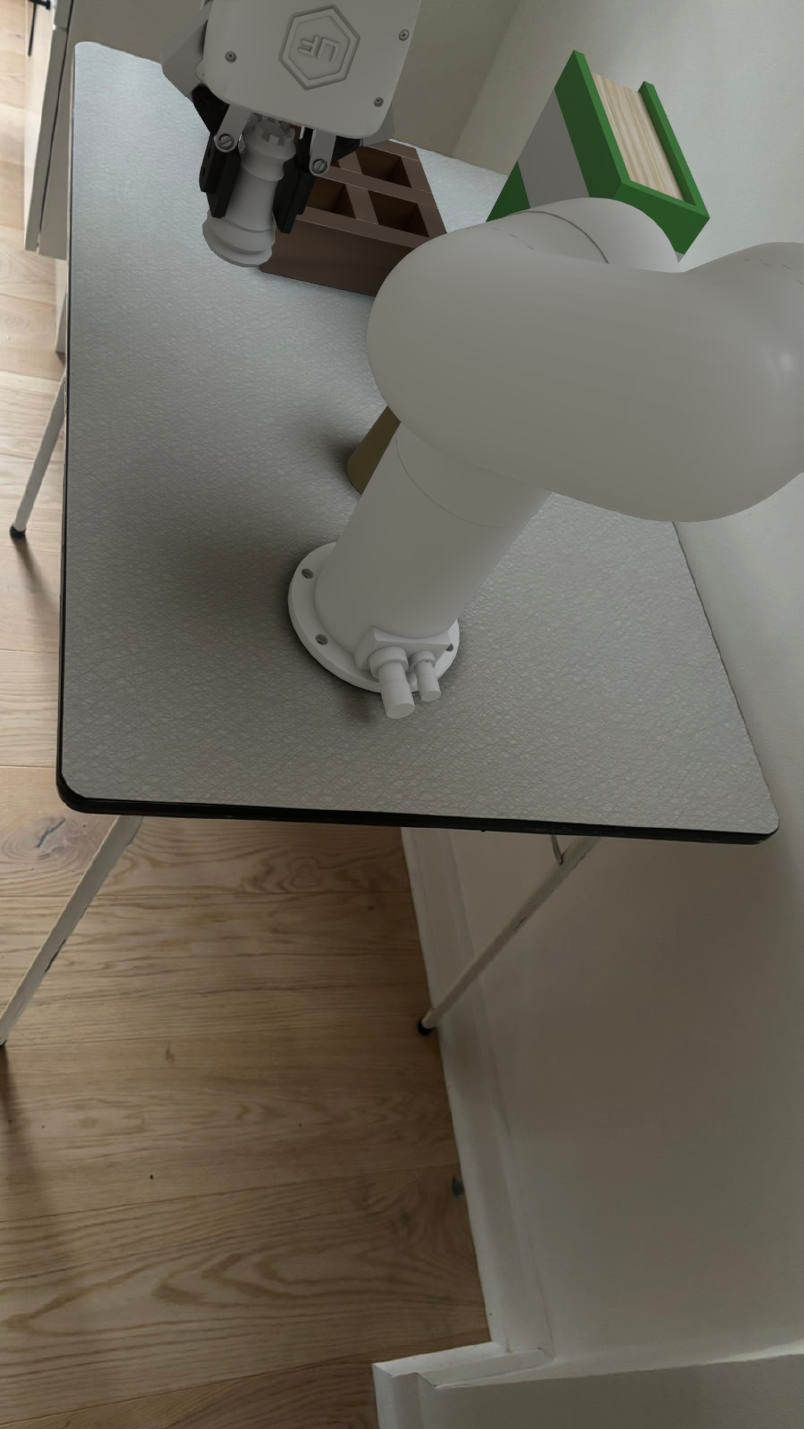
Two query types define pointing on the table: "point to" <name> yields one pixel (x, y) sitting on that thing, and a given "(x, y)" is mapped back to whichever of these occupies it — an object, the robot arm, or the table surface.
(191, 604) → the table surface
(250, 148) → the rook chess piece
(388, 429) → the olive flared vase
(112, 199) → the table surface
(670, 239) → the hardback book
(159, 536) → the table surface
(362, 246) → the divided compartment box
